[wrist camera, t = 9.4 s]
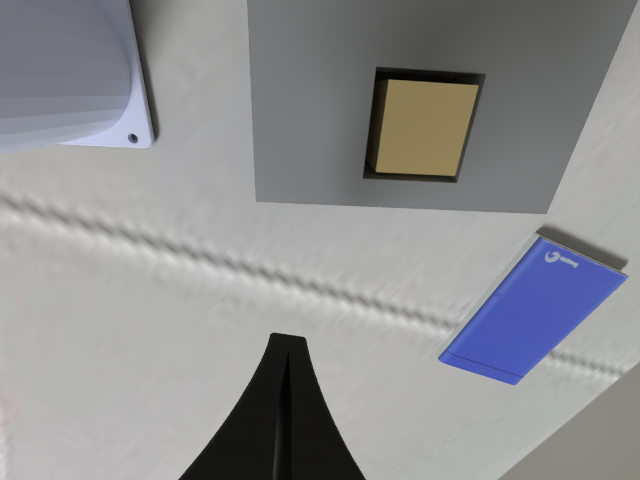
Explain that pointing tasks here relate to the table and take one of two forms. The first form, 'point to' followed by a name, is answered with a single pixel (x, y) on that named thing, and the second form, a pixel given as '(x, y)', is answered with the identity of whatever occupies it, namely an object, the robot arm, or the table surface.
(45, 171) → the table surface
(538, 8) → the panel
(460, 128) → the brass button
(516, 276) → the hard drive
